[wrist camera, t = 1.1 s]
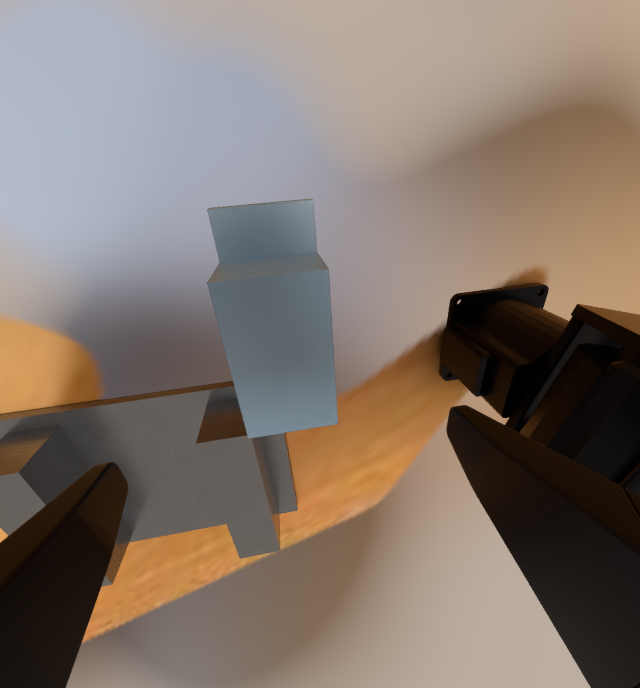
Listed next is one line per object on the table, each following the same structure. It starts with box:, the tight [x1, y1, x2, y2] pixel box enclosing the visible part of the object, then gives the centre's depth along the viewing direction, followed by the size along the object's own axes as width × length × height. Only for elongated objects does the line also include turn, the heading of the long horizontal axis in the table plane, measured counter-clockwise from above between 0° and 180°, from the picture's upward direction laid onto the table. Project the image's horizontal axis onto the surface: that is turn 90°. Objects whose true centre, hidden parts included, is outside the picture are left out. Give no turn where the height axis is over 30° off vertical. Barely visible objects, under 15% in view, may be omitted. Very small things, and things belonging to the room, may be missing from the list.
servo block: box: [207, 199, 338, 439], centre depth 15 cm, size 11×4×7 cm, turn 5°
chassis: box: [0, 381, 298, 586], centre depth 21 cm, size 18×14×4 cm
